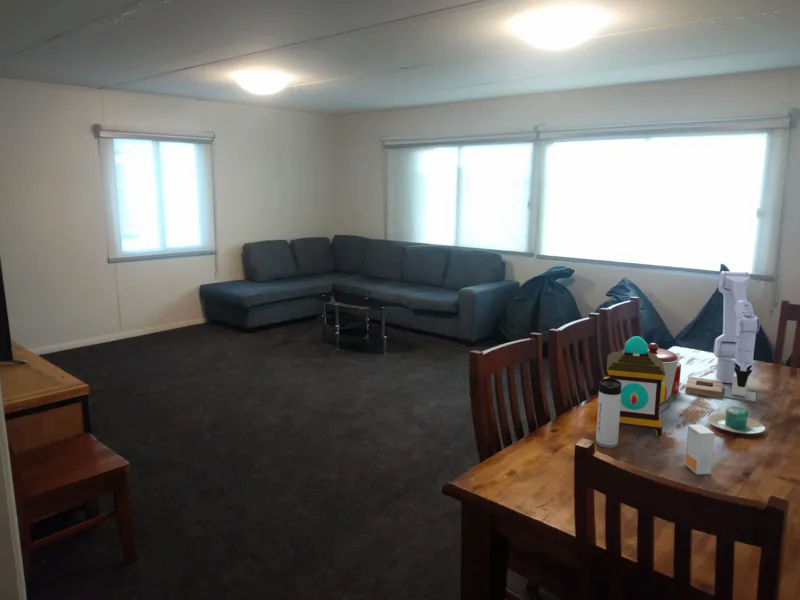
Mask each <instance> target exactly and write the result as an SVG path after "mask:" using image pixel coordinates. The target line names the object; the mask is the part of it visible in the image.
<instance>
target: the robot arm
mask: <svg viewBox="0 0 800 600" xmlns="http://www.w3.org/2000/svg"><path fill="white" fill-rule="evenodd" d="M750 282H751V275H750V273H749V271H726V270H725V271H724V270H721V272H720V273H719V275H718V292H720V293H721V294H722V296H723V304H722V305H723V311H722V312H723V314H722V317H723V318H722V334H721V335H719V336H717V337H716V338H715V339H714V345H713V355H714V357H715V358H717V362H716V373H715V374H714V379H713V380H718V381H723V383H727V384H731V385H733V377H734V373H736V375H737V384H738V386H739V387H745V385H746V382H747V379H748V380H749V376H750V375H751V373H752V372H753V370H752V369H751V368H752V366H753V365H754V355H755V354H754V353H755V344H756V338H757V336H756V335H757V334H758V333H759V331H760V326H761V325H760V319H759V317H757V315H756V314H755V312H754V308H753V305H752V303H751V302H750V301H748V294H747V289H748V288H749V285H750ZM747 383H748V382H747Z"/></svg>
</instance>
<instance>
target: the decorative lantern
mask: <svg viewBox="0 0 800 600" xmlns="http://www.w3.org/2000/svg"><path fill="white" fill-rule="evenodd" d="M648 345H649V344H648V343H647V341H645V339H644V338H643V337H641V336H640V335H639V336H638V335H636V336H632V337H630V338H628V340H627V341H625V344H624V347H623V349H621V350H618V351H612V352H610V353H609V354H608V355H607V361H606V371H607V374H608V376H605V377H603V378H602V379H608V378H613V379H615V380H618V381H620V382H621V402H620V417H619V426H626V427H635V428H643V429H649V430H650V429H651V430H655V433H656V434H655V435H656V437H657V438H661V437H662V434H663V424H662V420H661V415H660V414H661V413H660V405H661V404H663V403H664V402H666V401H665V399H666V396H667V388H666V385H665V384H664V383H663V382H662V380H663V379H664V377H665V375H666V374H665V370H664V366H663V363H662V360H661V359H660V358H659V357H658V356H657V355H652V354H651V353H650V352H649V351H648Z"/></svg>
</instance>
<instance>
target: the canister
mask: <svg viewBox="0 0 800 600" xmlns="http://www.w3.org/2000/svg"><path fill="white" fill-rule="evenodd" d="M647 345H648V351H649V352H650V353H651V354H652V355H657V356H658V357H659V358H660V359H661V360H662V363H663V366H664V370H665V374H666V375H665V377H664V379H663V380H662V382H663V383H664V384H665V385H666V388H667V396H666V399H665V401H664V402H666V401H667V400H669V398H670V396H671V394H672V393H671V390H672V386H673V382H674V377H675V372H676V368H677V362H680V360H681V357H680V356H679V355H677V354H676V353H674V351H670V350H668V349H664V348H659V345H658V344H657V343H656V342H650V343H649V344H647Z"/></svg>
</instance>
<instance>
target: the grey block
mask: <svg viewBox="0 0 800 600" xmlns="http://www.w3.org/2000/svg"><path fill="white" fill-rule="evenodd" d="M748 380H749V378H748V379H747V382H746V385H745V387H739V386H738V384H737V375H736V373H734V377H733V384H731V385H732V386H731V389H732V394H733V395H739V396H746V391H747V390H748V389H747V388H748V382H749V381H748Z"/></svg>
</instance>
